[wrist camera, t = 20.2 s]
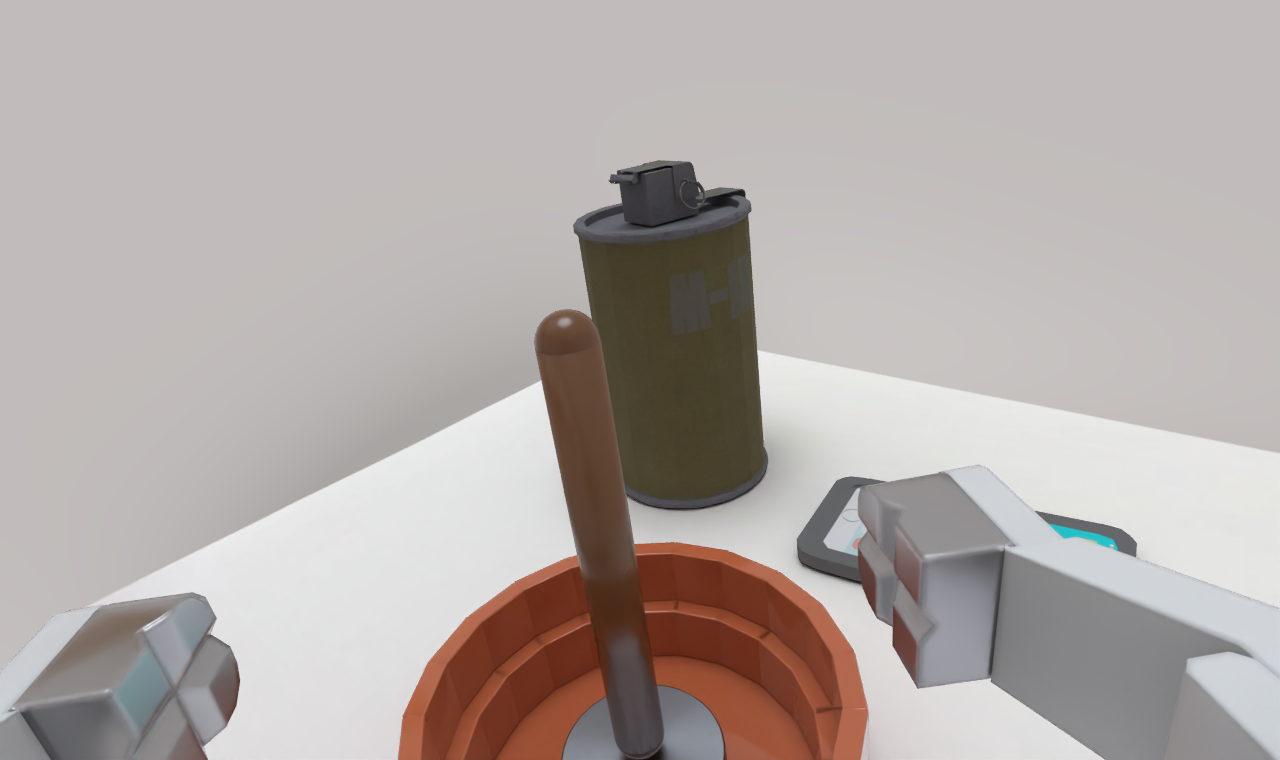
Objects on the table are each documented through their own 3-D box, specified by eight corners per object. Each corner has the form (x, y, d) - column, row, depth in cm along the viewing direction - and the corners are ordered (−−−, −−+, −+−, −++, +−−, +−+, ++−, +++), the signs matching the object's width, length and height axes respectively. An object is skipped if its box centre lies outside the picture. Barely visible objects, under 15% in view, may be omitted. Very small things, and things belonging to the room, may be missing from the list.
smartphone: (843, 468, 44) (1138, 526, 36) (843, 482, 44) (1135, 542, 36) (787, 549, 38) (1130, 642, 29) (788, 564, 38) (1127, 660, 30)
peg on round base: (617, 908, 23) (493, 377, 15) (544, 770, 28) (423, 316, 20) (763, 805, 25) (719, 304, 18) (673, 695, 30) (608, 266, 23)
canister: (675, 531, 42) (630, 188, 34) (587, 467, 50) (534, 178, 42) (805, 462, 47) (793, 149, 39) (706, 413, 55) (679, 146, 47)
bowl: (543, 1223, 17) (490, 1100, 15) (398, 760, 30) (356, 653, 28) (966, 850, 24) (977, 722, 21) (700, 599, 37) (688, 501, 34)
